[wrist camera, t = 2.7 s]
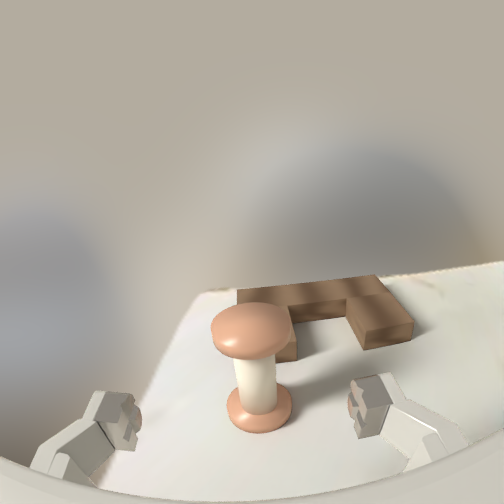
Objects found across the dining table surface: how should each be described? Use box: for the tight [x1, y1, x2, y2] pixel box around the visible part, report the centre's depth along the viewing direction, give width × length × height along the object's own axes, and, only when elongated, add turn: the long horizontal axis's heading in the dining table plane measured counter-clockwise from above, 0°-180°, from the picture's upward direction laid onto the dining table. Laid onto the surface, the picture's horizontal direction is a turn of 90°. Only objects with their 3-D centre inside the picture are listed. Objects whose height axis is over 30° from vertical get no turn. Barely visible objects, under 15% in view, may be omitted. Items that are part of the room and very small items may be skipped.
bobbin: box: [211, 302, 292, 433], centre depth 27 cm, size 6×6×11 cm
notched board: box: [237, 275, 414, 363], centre depth 41 cm, size 22×14×3 cm, turn 93°
